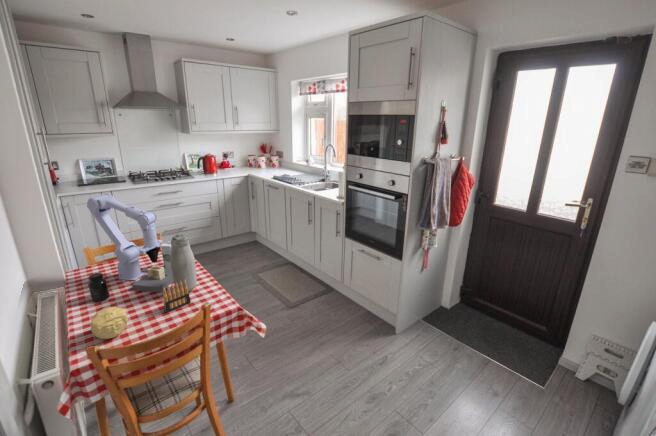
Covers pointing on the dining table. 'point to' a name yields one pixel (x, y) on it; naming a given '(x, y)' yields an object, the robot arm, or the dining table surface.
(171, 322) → the dining table surface
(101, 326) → the sculpture
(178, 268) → the grey bottle
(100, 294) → the supplement bottle
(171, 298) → the ammunition clip
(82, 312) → the dining table surface
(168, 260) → the syrup box
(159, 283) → the slot board
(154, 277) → the peg
